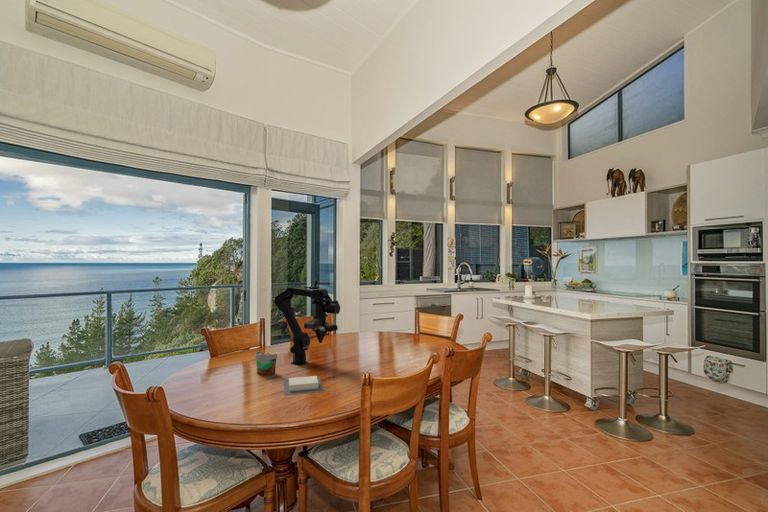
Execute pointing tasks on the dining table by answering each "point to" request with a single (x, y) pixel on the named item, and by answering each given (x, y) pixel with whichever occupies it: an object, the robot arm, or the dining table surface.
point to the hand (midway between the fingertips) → (320, 342)
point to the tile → (303, 383)
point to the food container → (265, 363)
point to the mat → (287, 392)
